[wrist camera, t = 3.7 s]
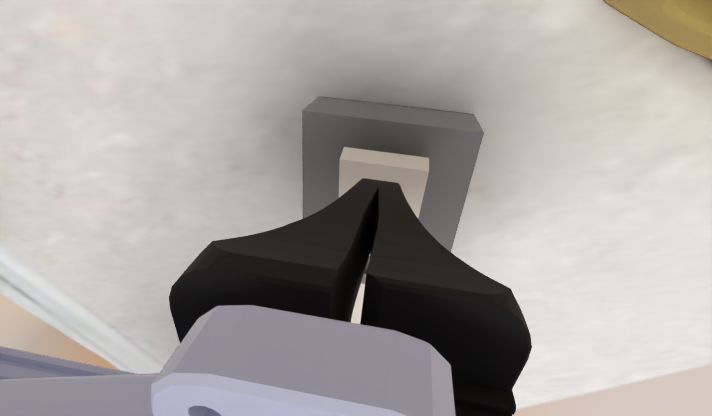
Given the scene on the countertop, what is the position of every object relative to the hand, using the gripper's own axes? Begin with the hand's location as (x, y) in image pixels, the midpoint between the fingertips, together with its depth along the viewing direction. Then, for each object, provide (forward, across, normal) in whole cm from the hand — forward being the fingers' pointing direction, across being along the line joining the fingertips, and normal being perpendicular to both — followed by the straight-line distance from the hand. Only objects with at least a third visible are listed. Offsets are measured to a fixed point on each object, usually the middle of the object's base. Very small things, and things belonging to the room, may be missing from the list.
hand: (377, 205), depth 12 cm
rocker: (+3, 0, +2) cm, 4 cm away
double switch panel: (+8, 0, +6) cm, 10 cm away
